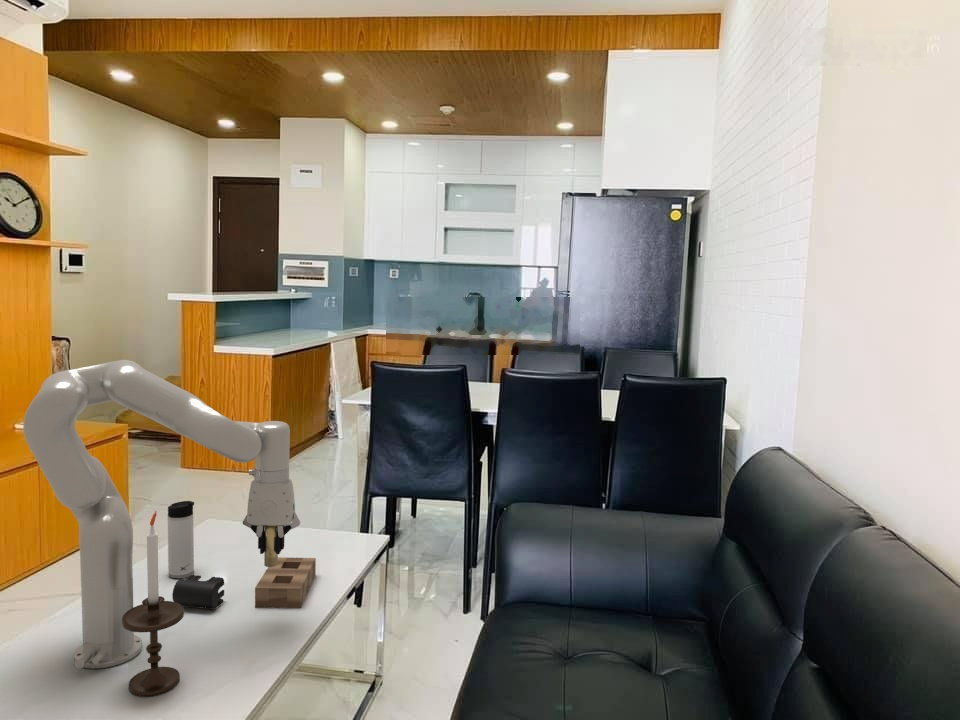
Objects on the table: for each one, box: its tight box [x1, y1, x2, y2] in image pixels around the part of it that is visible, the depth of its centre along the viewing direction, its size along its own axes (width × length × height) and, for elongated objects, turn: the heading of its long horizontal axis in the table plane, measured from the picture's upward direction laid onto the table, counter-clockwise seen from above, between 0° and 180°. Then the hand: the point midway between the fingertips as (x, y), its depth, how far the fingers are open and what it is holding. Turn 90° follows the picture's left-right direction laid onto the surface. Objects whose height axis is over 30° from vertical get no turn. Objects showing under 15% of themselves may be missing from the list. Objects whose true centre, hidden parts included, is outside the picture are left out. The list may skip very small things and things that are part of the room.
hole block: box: [254, 556, 317, 609], centre depth 178 cm, size 19×11×5 cm, turn 3°
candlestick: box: [122, 510, 185, 698], centre depth 134 cm, size 11×11×35 cm
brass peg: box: [263, 526, 279, 568], centre depth 161 cm, size 3×3×11 cm
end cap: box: [172, 574, 225, 610], centre depth 168 cm, size 10×7×7 cm
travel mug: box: [167, 500, 195, 579], centre depth 185 cm, size 6×7×20 cm
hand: (271, 551), depth 161 cm, fingers closed on brass peg, 3 cm apart
